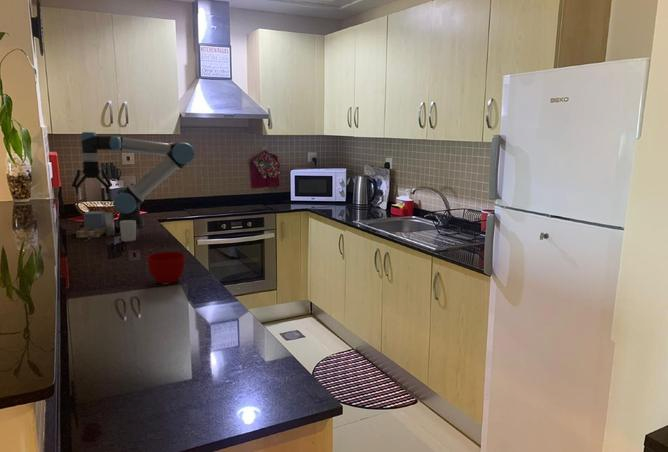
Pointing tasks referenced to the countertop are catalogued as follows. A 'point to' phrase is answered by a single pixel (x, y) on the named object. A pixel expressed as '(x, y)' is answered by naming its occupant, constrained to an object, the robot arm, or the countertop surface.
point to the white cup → (128, 230)
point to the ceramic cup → (166, 266)
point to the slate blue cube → (94, 219)
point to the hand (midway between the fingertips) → (93, 199)
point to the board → (90, 232)
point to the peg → (109, 224)
